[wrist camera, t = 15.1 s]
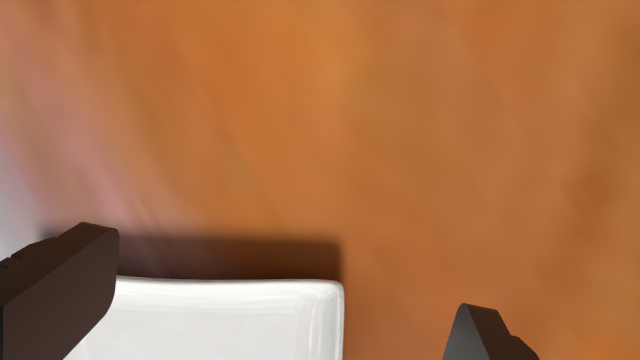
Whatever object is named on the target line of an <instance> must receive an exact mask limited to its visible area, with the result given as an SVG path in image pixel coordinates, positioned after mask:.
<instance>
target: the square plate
mask: <svg viewBox="0 0 640 360" xmlns="http://www.w3.org/2000/svg"><path fill="white" fill-rule="evenodd" d="M344 304H345V301H344V288H343V285H342V283H340V282H338V281H335V280H324V279H260V280H196V279H164V278H146V277H132V276H119V275H116V288H115V294H114V298H113V301H112V304H111V306H110V308H109V310H108V312H107V313H106V315H105V316H104V317H103V318H102V319H101V320H100V322H99V323H98V324H97V325H96V326H95V327H94V328H93V329H92V330H91V331H90V332H89V333H88V334H87V335H86V336H85V337H84V338H83V339H82V340H81V341H80V342H79V343H78V345H77V346H76V347H75V348H74V349H73V350H72V351H71V352H70V353H69V354H68V355H67V356H66V357H65V358H64V359H63V360H342V356H343V337H344Z"/></svg>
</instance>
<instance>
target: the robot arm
mask: <svg viewBox="0 0 640 360" xmlns="http://www.w3.org/2000/svg"><path fill="white" fill-rule="evenodd" d="M118 251H119V233H118V231H117V229H115V228H110V227H105V226H101V225H96V224H91V223H86V222H81V223H79V224H78V225H76V226H74V227H73V228H71V229H70V230H68V231H66V232H65V233H63V234H62V235H60V236H58V237H57V238H55V237H53V238H49V239H46V240H43V241H39V242H36V243H33V244H29V245H28V246H26V247H24V248H22V249H21V250H19V251H17V252H16V253H14V254H12V255H11V257H10V258H9V257H7V258H5V259H4V260H2V261H0V360H63V359H64V358H65V357H66V356H67V355H68V354H69V353H70V352H71V351H72V350H73V349H74V348H75V347H76V346H77V345H78V343H79V342H80V341H81V340H82V339H83V338H84V337H85V336H86V335H87V334H88V333H89V332H90V331H91V330H92V329H93V328H94V327H95V326H96V325H97V324H98V323H99V322H100V320H101V319H102V318H103V317H104V316H105V315H106V313H107V312H108V310H109V308H110V306H111V304H112V301H113V298H114V294H115V288H116V275H117V263H118ZM442 360H540V359H539V358H538V356H537V354H536V353H535V352H534V351H533V350H532V349H531V348H530V347H528V346H527V345H526V344H525V343H524V342H523V341H522V340H521V339H520V338H519V337H516V336H512V335H510V333H509V331H508V329H507V327H506V325H505V324H504V322H503V320H502V318H501V316H500V314H499V313H498V311H497V310H494V309H490V308H485V307H480V306H475V305H471V304H466V303H462V304H461V305H460V307H459V308H458V310H457V313H456V316H455V320H454V323H453V326H452V329H451V333H450V336H449V339H448V342H447V346H446V349H445V352H444V355H443V359H442Z"/></svg>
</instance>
